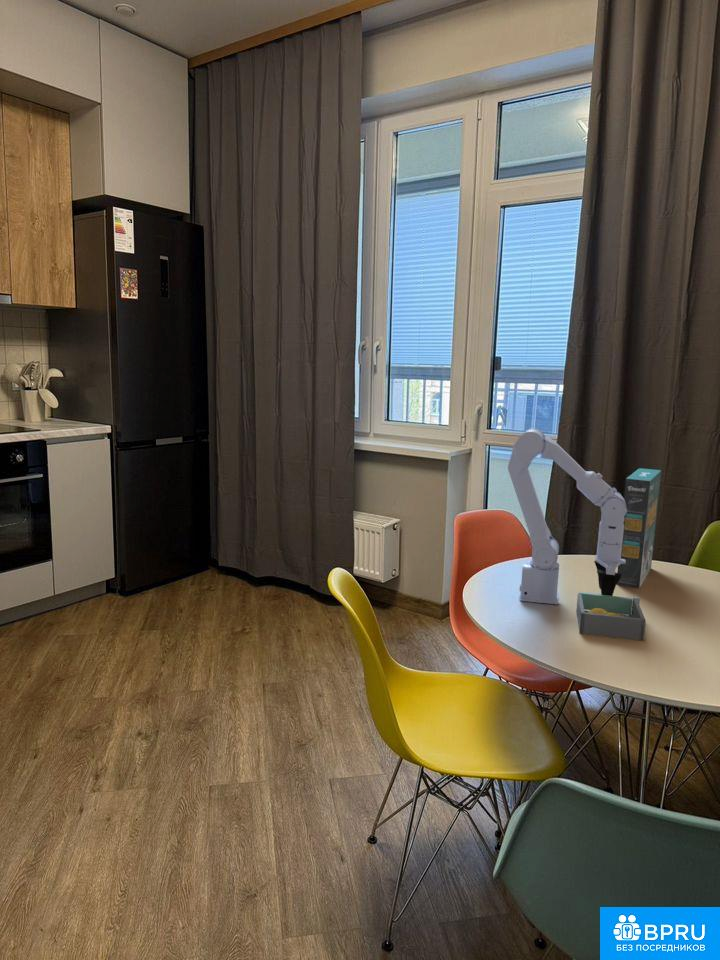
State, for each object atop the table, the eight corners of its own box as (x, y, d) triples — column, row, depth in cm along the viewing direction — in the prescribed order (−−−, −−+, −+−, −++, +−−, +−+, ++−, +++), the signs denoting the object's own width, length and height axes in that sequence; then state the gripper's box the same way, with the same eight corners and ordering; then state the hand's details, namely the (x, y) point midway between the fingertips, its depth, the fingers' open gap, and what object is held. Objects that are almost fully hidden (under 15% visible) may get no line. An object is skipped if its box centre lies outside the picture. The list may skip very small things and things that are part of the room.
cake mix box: (629, 565, 207) (639, 468, 202) (651, 568, 204) (661, 470, 198) (616, 584, 188) (626, 478, 183) (639, 588, 185) (650, 480, 180)
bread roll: (618, 637, 153) (620, 620, 152) (580, 626, 158) (581, 610, 158) (631, 626, 159) (632, 610, 158) (593, 616, 164) (594, 601, 164)
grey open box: (579, 633, 154) (581, 613, 153) (575, 608, 169) (577, 590, 168) (649, 641, 150) (651, 620, 149) (639, 615, 165) (641, 597, 164)
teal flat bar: (638, 614, 165) (639, 597, 164) (638, 616, 163) (640, 599, 162) (577, 606, 169) (578, 589, 168) (577, 608, 168) (578, 591, 167)
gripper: (630, 550, 160) (625, 605, 163) (623, 535, 174) (618, 586, 176) (599, 548, 162) (594, 602, 164) (594, 533, 176) (590, 583, 178)
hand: (605, 593), depth 170 cm, fingers open, 7 cm apart
